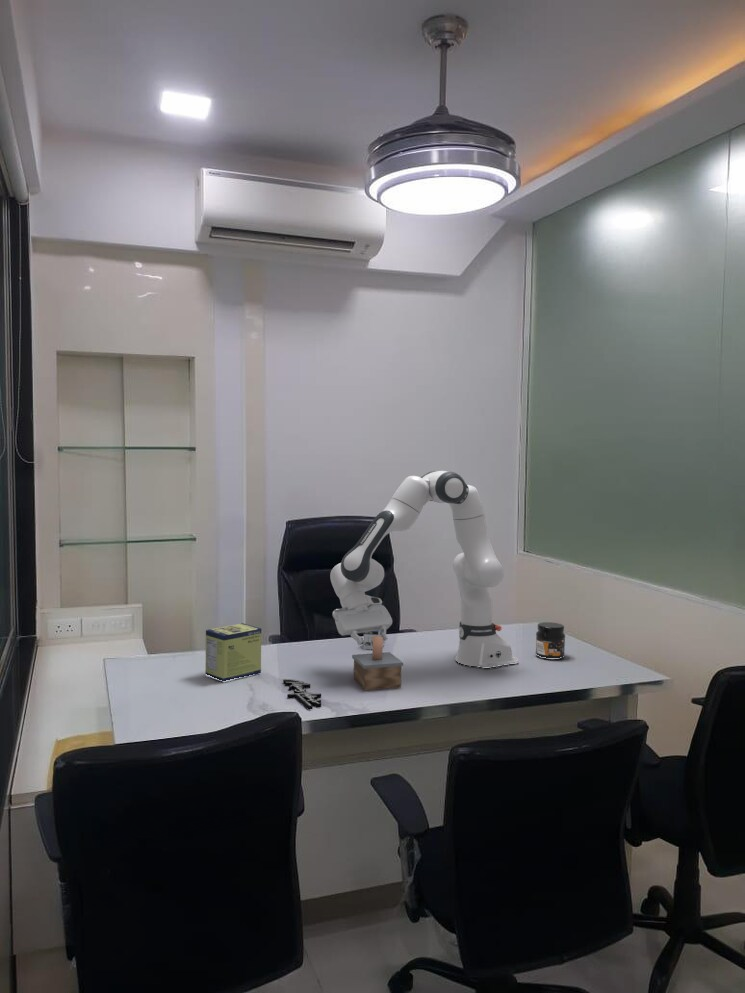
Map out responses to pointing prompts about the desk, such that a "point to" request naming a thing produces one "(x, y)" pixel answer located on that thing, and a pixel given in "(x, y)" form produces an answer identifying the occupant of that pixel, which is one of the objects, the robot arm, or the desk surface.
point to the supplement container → (550, 640)
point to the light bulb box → (370, 639)
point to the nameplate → (302, 693)
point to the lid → (377, 656)
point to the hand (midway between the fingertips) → (373, 641)
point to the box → (377, 677)
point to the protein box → (233, 651)
